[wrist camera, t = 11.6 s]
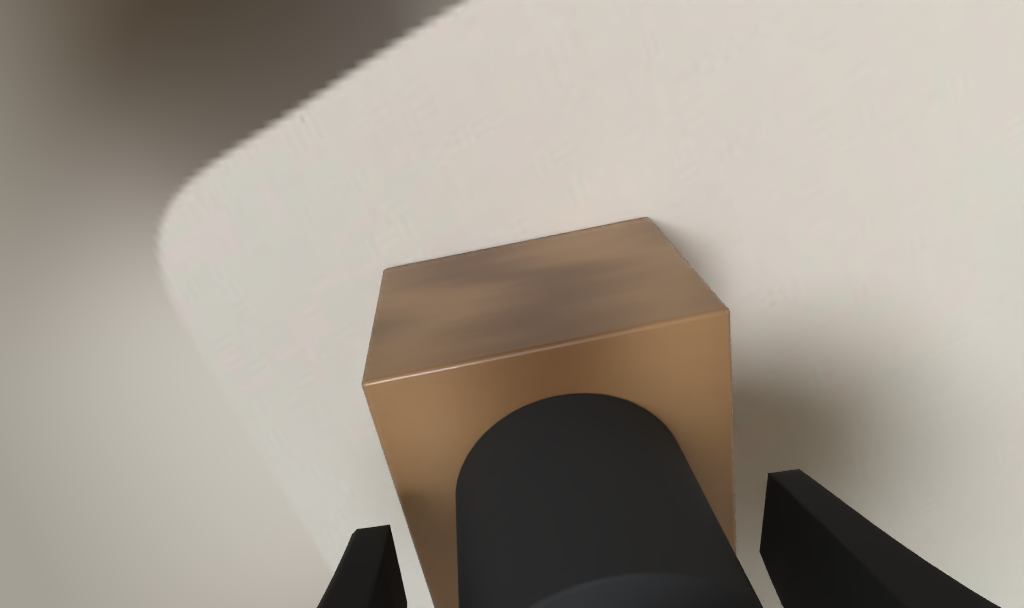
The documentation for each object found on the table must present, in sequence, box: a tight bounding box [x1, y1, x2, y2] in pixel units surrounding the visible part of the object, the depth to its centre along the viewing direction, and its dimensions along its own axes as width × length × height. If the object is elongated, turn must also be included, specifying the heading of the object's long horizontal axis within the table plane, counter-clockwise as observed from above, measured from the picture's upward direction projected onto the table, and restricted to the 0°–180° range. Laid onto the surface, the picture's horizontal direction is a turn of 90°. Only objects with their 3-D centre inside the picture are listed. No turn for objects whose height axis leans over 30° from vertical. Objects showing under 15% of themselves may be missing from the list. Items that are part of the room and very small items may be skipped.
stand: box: [362, 218, 736, 608], centre depth 16 cm, size 7×7×6 cm
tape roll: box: [455, 394, 763, 608], centre depth 12 cm, size 5×5×4 cm
